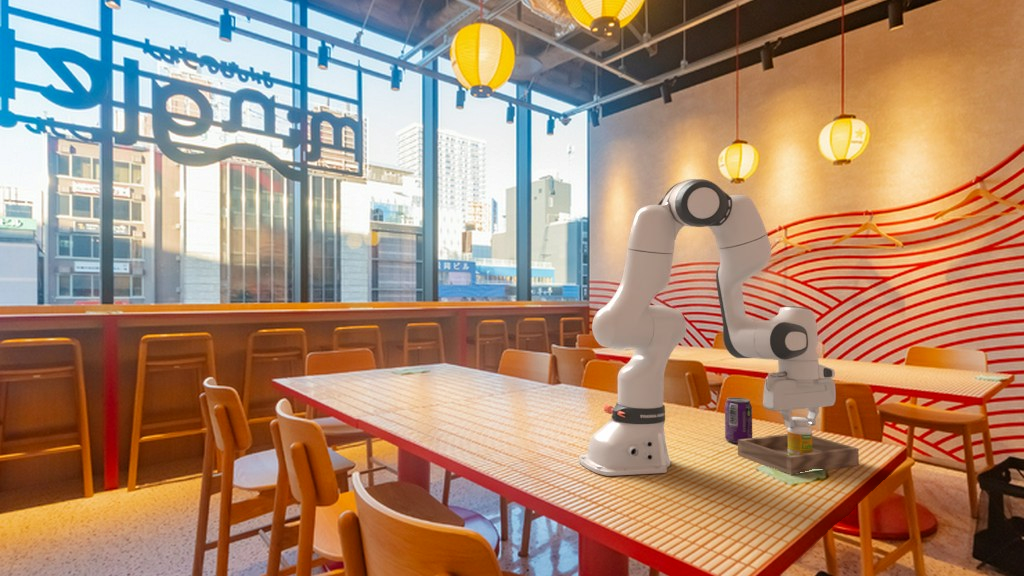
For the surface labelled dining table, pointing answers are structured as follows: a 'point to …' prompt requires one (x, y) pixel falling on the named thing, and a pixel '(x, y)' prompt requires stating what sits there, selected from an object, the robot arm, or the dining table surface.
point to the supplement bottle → (799, 437)
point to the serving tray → (776, 455)
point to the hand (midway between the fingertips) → (800, 426)
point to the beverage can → (738, 419)
